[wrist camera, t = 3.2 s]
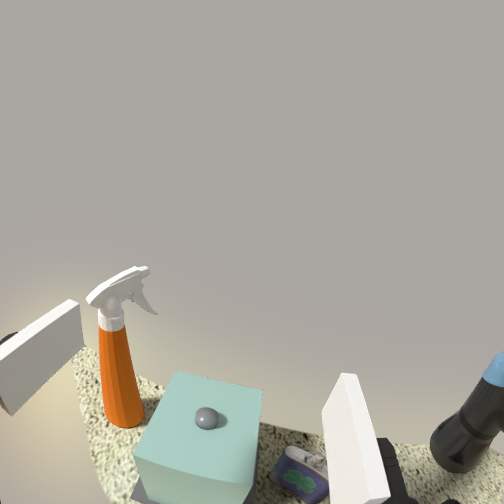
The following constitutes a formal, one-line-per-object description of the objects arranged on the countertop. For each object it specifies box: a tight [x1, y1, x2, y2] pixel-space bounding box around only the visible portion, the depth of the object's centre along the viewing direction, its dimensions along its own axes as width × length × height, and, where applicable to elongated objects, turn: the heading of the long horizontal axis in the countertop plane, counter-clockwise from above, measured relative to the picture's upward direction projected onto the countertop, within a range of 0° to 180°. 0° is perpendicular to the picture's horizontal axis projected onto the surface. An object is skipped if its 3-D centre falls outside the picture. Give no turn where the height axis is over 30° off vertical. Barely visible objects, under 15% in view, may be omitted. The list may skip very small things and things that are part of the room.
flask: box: [269, 446, 330, 504], centre depth 26 cm, size 9×3×11 cm, turn 48°
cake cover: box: [133, 370, 263, 504], centre depth 26 cm, size 11×14×16 cm
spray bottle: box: [86, 266, 157, 428], centre depth 34 cm, size 7×11×26 cm, turn 139°
